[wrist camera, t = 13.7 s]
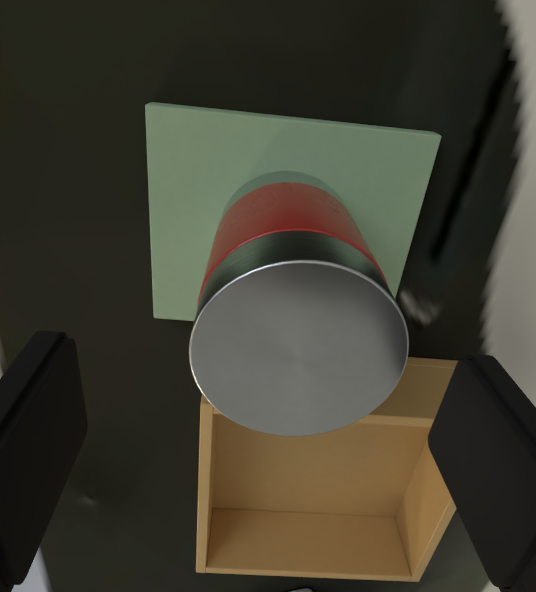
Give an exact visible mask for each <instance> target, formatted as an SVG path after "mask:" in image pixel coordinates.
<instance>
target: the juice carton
mask: <svg viewBox="0 0 536 592" xmlns="http://www.w3.org/2000/svg"><path fill="white" fill-rule="evenodd" d="M290 592H313V591H312V590H311V589H308V588H304V589H298V590H294V591H290Z"/></svg>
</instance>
